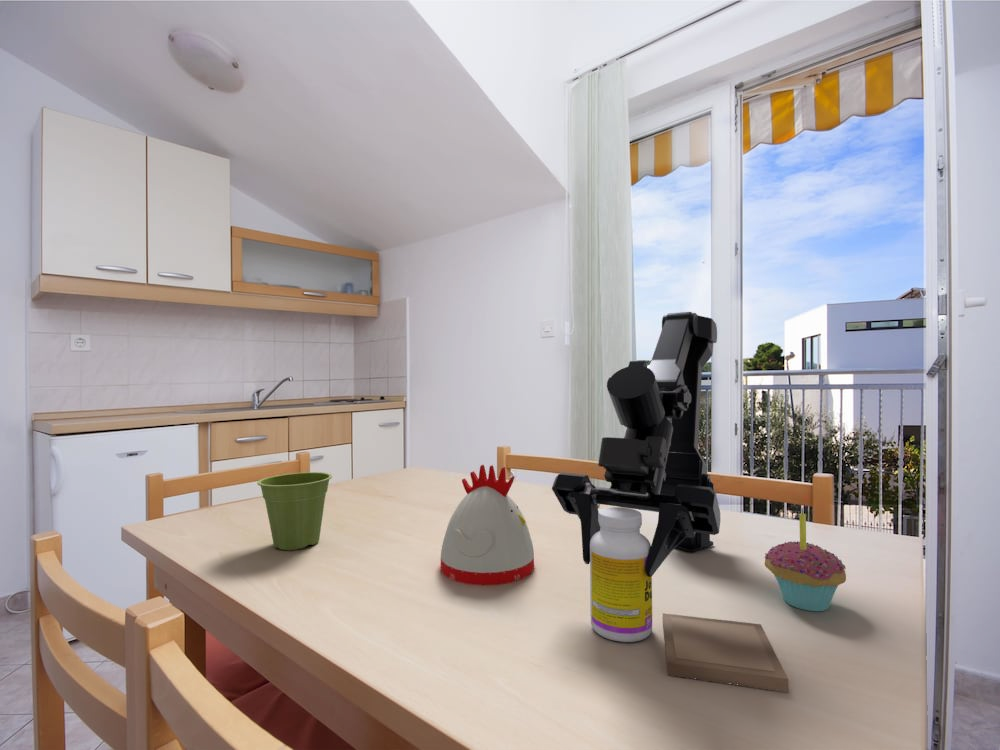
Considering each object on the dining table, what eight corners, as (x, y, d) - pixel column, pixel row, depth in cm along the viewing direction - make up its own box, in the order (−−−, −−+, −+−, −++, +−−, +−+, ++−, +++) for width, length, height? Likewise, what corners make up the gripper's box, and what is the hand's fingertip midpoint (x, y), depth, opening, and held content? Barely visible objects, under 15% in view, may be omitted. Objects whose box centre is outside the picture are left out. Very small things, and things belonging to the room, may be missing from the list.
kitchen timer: (517, 591, 65) (516, 476, 65) (424, 577, 70) (423, 470, 70) (544, 555, 78) (543, 460, 78) (464, 546, 83) (464, 456, 83)
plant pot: (323, 529, 93) (322, 469, 93) (340, 546, 83) (340, 479, 83) (253, 541, 86) (252, 476, 86) (263, 561, 76) (262, 488, 76)
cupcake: (849, 626, 55) (847, 517, 55) (762, 608, 59) (760, 507, 59) (844, 597, 62) (843, 501, 62) (767, 582, 66) (766, 493, 67)
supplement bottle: (655, 648, 51) (654, 522, 51) (590, 642, 52) (588, 519, 52) (649, 617, 57) (648, 506, 57) (591, 612, 59) (589, 503, 59)
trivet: (662, 624, 56) (662, 612, 56) (761, 635, 53) (760, 623, 53) (667, 675, 46) (667, 661, 46) (788, 692, 43) (788, 678, 43)
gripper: (557, 409, 63) (514, 516, 54) (714, 413, 53) (695, 545, 44) (582, 461, 70) (547, 565, 60) (726, 474, 60) (712, 600, 50)
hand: (615, 568), depth 53 cm, fingers closed on supplement bottle, 7 cm apart
